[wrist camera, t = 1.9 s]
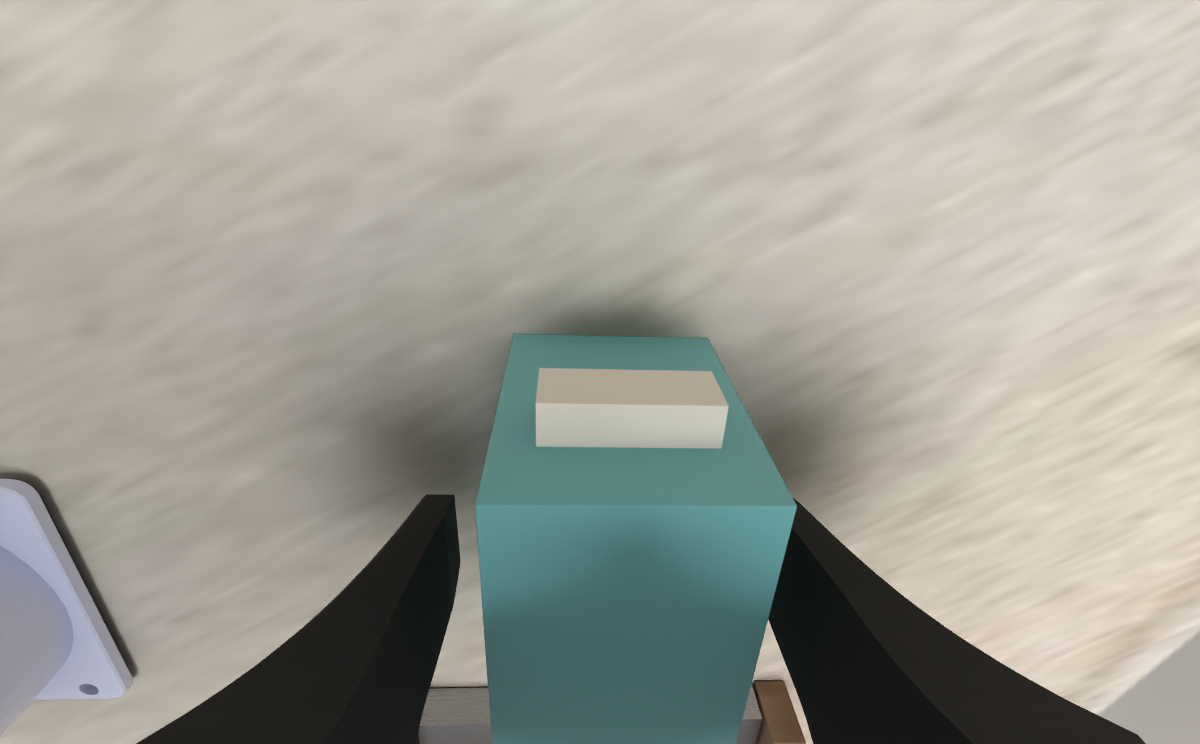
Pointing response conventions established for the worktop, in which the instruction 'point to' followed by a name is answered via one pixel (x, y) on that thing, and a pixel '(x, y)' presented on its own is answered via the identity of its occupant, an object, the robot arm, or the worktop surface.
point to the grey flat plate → (463, 723)
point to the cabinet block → (624, 544)
